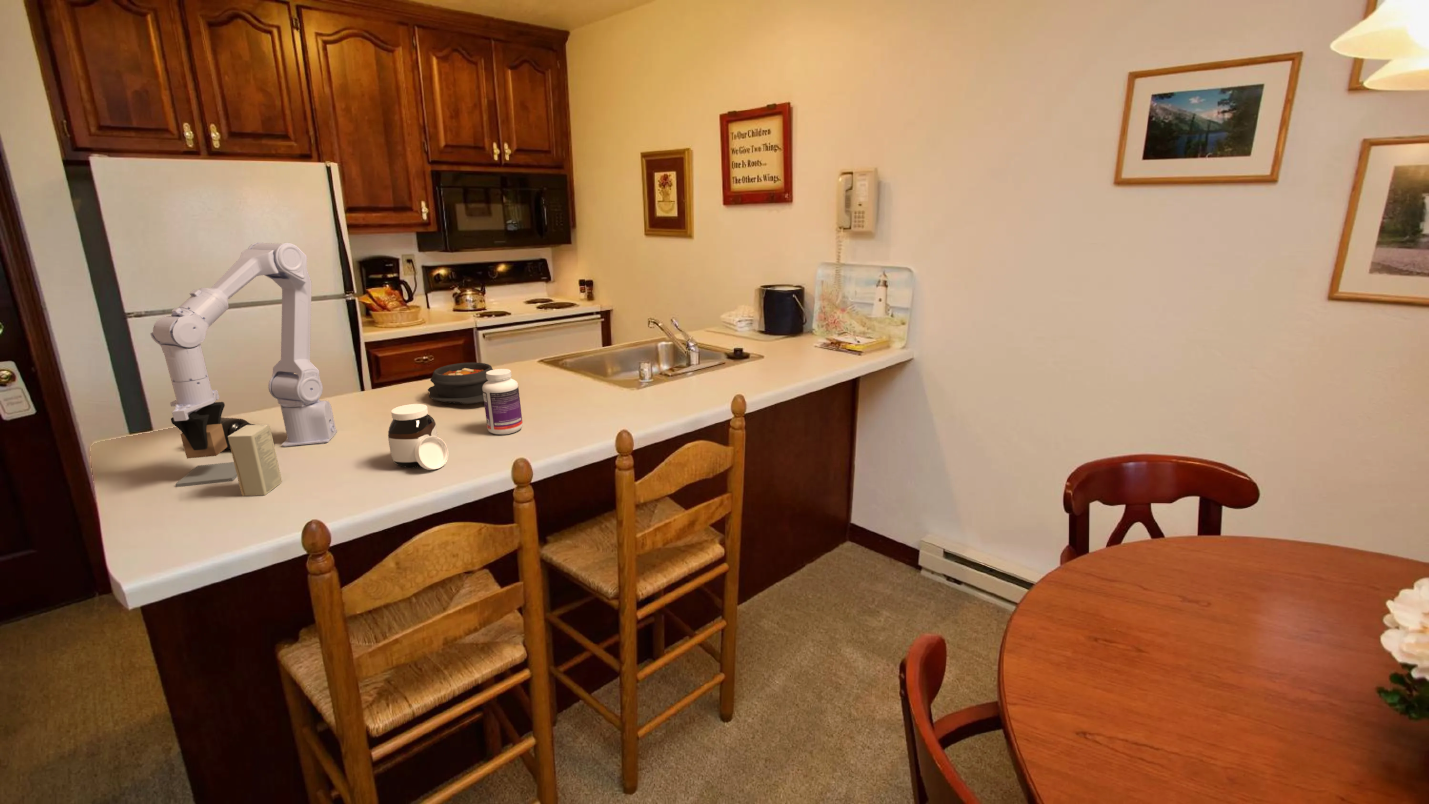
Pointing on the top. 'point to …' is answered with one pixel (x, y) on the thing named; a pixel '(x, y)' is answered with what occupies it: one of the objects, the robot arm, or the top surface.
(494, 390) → the pill bottle
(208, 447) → the walnut cube
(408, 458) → the spread jar
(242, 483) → the skincare box
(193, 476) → the slate mat
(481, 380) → the casserole
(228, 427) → the supplement bottle
